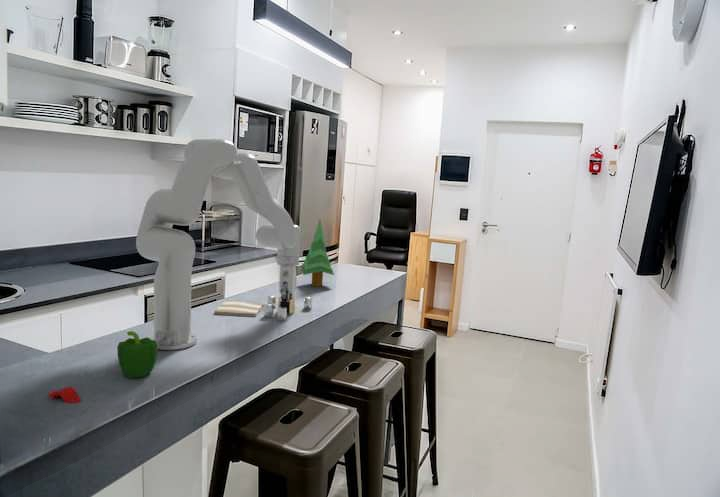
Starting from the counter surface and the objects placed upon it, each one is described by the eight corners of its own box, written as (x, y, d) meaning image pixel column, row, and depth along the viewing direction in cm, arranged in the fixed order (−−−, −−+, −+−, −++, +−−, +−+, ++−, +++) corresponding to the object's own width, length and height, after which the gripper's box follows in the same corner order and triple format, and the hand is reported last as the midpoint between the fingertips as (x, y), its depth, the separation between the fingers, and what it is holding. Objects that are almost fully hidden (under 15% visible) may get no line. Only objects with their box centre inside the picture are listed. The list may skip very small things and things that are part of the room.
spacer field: (306, 322, 166) (307, 310, 166) (258, 319, 166) (258, 307, 166) (313, 304, 189) (313, 294, 189) (270, 302, 189) (270, 291, 188)
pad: (255, 316, 170) (256, 313, 170) (214, 314, 170) (214, 311, 169) (263, 305, 184) (263, 303, 183) (225, 303, 183) (225, 301, 183)
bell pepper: (163, 374, 118) (163, 333, 117) (128, 384, 112) (127, 341, 111) (146, 364, 124) (146, 325, 122) (112, 372, 118) (111, 331, 116)
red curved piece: (44, 397, 104) (44, 387, 104) (57, 392, 107) (57, 382, 107) (72, 406, 101) (72, 396, 101) (84, 400, 104) (84, 390, 104)
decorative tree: (305, 280, 231) (308, 215, 226) (338, 284, 227) (342, 217, 223) (294, 286, 218) (297, 217, 213) (328, 290, 214) (332, 220, 210)
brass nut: (293, 314, 175) (294, 300, 174) (276, 313, 175) (277, 299, 174) (295, 310, 180) (295, 296, 179) (279, 309, 180) (279, 295, 179)
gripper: (295, 265, 166) (293, 317, 169) (301, 256, 184) (299, 304, 186) (273, 263, 166) (271, 316, 169) (281, 255, 184) (279, 303, 186)
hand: (286, 309), depth 178 cm, fingers open, 6 cm apart
